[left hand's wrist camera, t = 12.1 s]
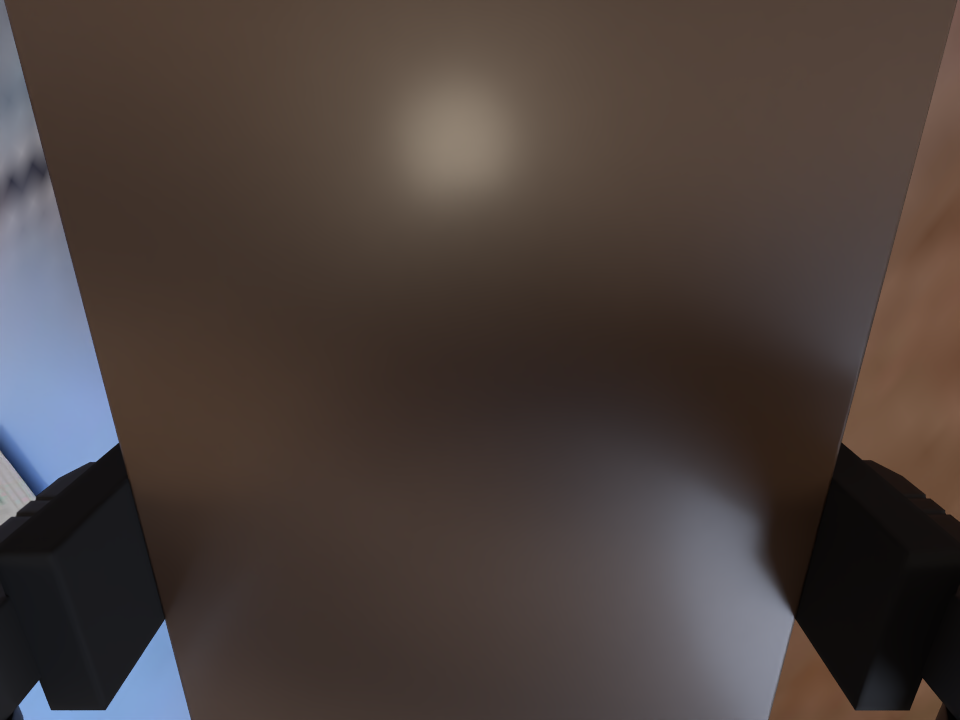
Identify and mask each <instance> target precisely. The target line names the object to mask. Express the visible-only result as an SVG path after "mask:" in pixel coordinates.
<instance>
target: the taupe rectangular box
mask: <svg viewBox="0 0 960 720" xmlns="http://www.w3.org/2000/svg"><path fill="white" fill-rule="evenodd" d="M4 2H5V5H6V9H7V13H8V17H9V21H10V25H11V28H12V32H13V36H14V40H15V44H16V48H17V52H18V55H19V59H20V63H21V67H22V71H23V75H24V79H25V82H26V86H27V90H28V94H29V98H30V102H31V105H32V109H33V113H34V117H35V121H36V125H37V129H38V132H39V136H40V140H41V144H42V148H43V152H44V155H45V159H46V163H47V167H48V171H49V175H50V179H51V182H52V186H53V190H54V194H55V198H56V202H57V206H58V209H59V213H60V217H61V221H62V225H63V229H64V232H65V236H66V240H67V244H68V248H69V252H70V256H71V259H72V263H73V267H74V271H75V275H76V279H77V282H78V286H79V290H80V294H81V298H82V302H83V306H84V309H85V313H86V317H87V321H88V325H89V329H90V332H91V336H92V340H93V344H94V348H95V352H96V356H97V359H98V363H99V367H100V371H101V375H102V379H103V383H104V386H105V390H106V394H107V398H108V402H109V406H110V409H111V413H112V417H113V421H114V425H115V429H116V433H117V436H118V440H119V444H120V448H121V452H122V456H123V459H124V463H125V467H126V471H127V475H128V479H129V483H130V486H131V490H132V494H133V498H134V502H135V506H136V510H137V513H138V517H139V521H140V525H141V529H142V533H143V536H144V540H145V544H146V548H147V552H148V556H149V560H150V563H151V567H152V571H153V575H154V579H155V583H156V586H157V590H158V594H159V598H160V602H161V606H162V610H163V613H164V617H165V621H166V625H167V629H168V633H169V636H170V640H171V644H172V648H173V652H174V656H175V660H176V663H177V667H178V671H179V675H180V679H181V683H182V687H183V690H184V694H185V698H186V702H187V706H188V710H189V713H190V717H191V720H769V716H770V713H771V709H772V705H773V701H774V697H775V693H776V690H777V686H778V682H779V678H780V674H781V671H782V667H783V663H784V659H785V655H786V652H787V648H788V644H789V640H790V636H791V632H792V629H793V625H794V621H795V617H796V613H797V610H798V606H799V602H800V598H801V594H802V591H803V587H804V583H805V579H806V575H807V571H808V568H809V564H810V560H811V556H812V552H813V549H814V545H815V541H816V537H817V533H818V529H819V526H820V522H821V518H822V514H823V510H824V507H825V503H826V499H827V495H828V491H829V488H830V484H831V480H832V476H833V472H834V468H835V465H836V461H837V457H838V453H839V449H840V446H841V442H842V438H843V434H844V430H845V427H846V423H847V419H848V415H849V411H850V407H851V404H852V400H853V396H854V392H855V388H856V385H857V381H858V377H859V373H860V369H861V365H862V362H863V358H864V354H865V350H866V346H867V343H868V339H869V335H870V331H871V327H872V324H873V320H874V316H875V312H876V308H877V304H878V301H879V297H880V293H881V289H882V285H883V282H884V278H885V274H886V270H887V266H888V263H889V259H890V255H891V251H892V247H893V243H894V240H895V236H896V232H897V228H898V224H899V221H900V217H901V213H902V209H903V205H904V201H905V198H906V194H907V190H908V186H909V182H910V179H911V175H912V171H913V167H914V163H915V160H916V156H917V152H918V148H919V144H920V140H921V137H922V133H923V129H924V125H925V121H926V118H927V114H928V110H929V106H930V102H931V99H932V95H933V91H934V87H935V83H936V79H937V76H938V72H939V68H940V64H941V60H942V57H943V53H944V49H945V45H946V41H947V37H948V34H949V30H950V26H951V22H952V18H953V15H954V11H955V7H956V3H957V0H4Z"/></svg>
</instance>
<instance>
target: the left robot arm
mask: <svg viewBox="0 0 960 720" xmlns="http://www.w3.org/2000/svg"><path fill="white" fill-rule="evenodd" d="M795 619H796V620H797V622H798V624H799V625H800V627H801V628H802V630H803V631H804V633H805V634H806V636H807V637H808V639H809V640H810V642H811V643H812V645H813V646H814V648H815V650H816V651H817V653H818V654H819V656H820V657H821V659H822V660H823V662H824V663H825V665H826V666H827V668H828V669H829V671H830V672H831V674H832V676H833V677H834V679H835V680H836V682H837V683H838V685H839V686H840V688H841V689H842V691H843V692H844V694H845V695H846V697H847V698H848V700H849V702H850V703H851V705H852V706H853V708H854V709H855V710H910V708H911V706H912V703H913V701H914V698H915V696H916V693H917V691H918V688H919V685H920V683H921V680H922V678H923V679H924V680H925V681H926V683H927V684H928V685H929V686H930V688H931V689H932V690H933V691H934V692H935V694H936V695H937V696H938V697H939V699H940V700H941V701H942V702H943V703H942V706H941V708H940V710H939V713H938V715H937V717H936V720H960V522H959V521H958V520H956V519H955V518H954V517H953V516H951V515H946V513H945V510H944V509H943V508H941V507H940V506H939V505H938V504H936V503H935V502H934V501H933V500H932V499H926V495H925V494H924V493H923V492H922V491H920V490H919V489H918V488H917V487H915V486H914V485H913V484H912V483H910V482H909V481H908V480H907V479H905V478H904V477H903V476H901V475H899V474H897V473H895V472H893V471H891V470H889V469H887V468H885V467H883V466H882V465H880V464H878V463H876V462H874V461H872V460H862V459H860V458H859V457H858V456H857V455H856V454H854V453H853V452H852V451H851V450H850V449H849V448H847V447H846V446H845V445H844V444H843V443H841V446H840V449H839V453H838V457H837V461H836V465H835V468H834V472H833V476H832V480H831V484H830V488H829V491H828V495H827V499H826V503H825V507H824V510H823V514H822V518H821V522H820V526H819V529H818V533H817V537H816V541H815V545H814V549H813V552H812V556H811V560H810V564H809V568H808V571H807V575H806V579H805V583H804V587H803V591H802V594H801V598H800V602H799V606H798V610H797V613H796V617H795ZM164 620H165V617H164V613H163V610H162V606H161V602H160V598H159V594H158V590H157V586H156V583H155V579H154V575H153V571H152V567H151V563H150V560H149V556H148V552H147V548H146V544H145V540H144V536H143V533H142V529H141V525H140V521H139V517H138V513H137V510H136V506H135V502H134V498H133V494H132V490H131V486H130V483H129V479H128V475H127V471H126V467H125V463H124V459H123V456H122V452H121V448H120V444H119V443H118V444H117V445H116V446H114V447H113V448H112V449H111V450H110V451H109V452H107V453H106V454H105V455H104V456H103V457H101V458H100V459H99V460H98V461H97V462H89V463H87V464H85V465H83V466H81V467H80V468H78V469H76V470H74V471H72V472H70V473H68V474H66V475H64V476H62V477H60V478H58V479H57V480H56V481H55V482H53V483H52V484H51V485H50V486H49V487H47V488H46V489H45V490H44V491H42V492H41V493H40V494H39V495H37V496H36V500H35V501H30V502H29V503H28V504H26V505H25V506H24V507H23V508H21V509H20V510H19V511H18V512H16V516H15V517H10V518H9V519H8V520H7V521H5V522H4V523H3V524H2V525H0V720H24V719H23V715H22V713H21V710H20V708H19V706H18V705H19V704H20V703H21V701H22V700H23V699H24V698H25V697H26V695H27V694H28V693H29V692H30V690H31V689H32V688H33V687H34V685H35V684H36V683H37V682H38V681H40V683H41V686H42V688H43V691H44V693H45V696H46V699H47V701H48V704H49V706H50V709H51V710H106V709H107V707H108V705H109V704H110V702H111V701H112V699H113V698H114V696H115V695H116V693H117V692H118V690H119V689H120V687H121V686H122V684H123V683H124V681H125V679H126V678H127V676H128V675H129V673H130V672H131V670H132V669H133V667H134V666H135V664H136V663H137V661H138V660H139V658H140V657H141V655H142V653H143V652H144V650H145V649H146V647H147V646H148V644H149V643H150V641H151V640H152V638H153V637H154V635H155V634H156V632H157V630H158V629H159V627H160V626H161V624H162V623H163V621H164Z"/></svg>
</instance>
